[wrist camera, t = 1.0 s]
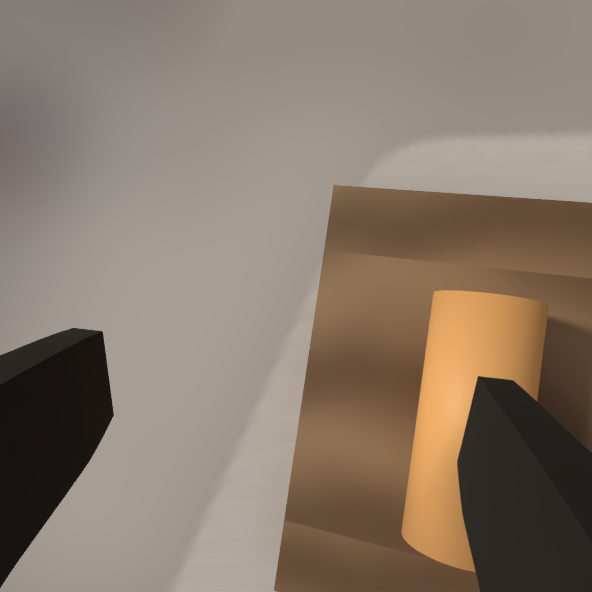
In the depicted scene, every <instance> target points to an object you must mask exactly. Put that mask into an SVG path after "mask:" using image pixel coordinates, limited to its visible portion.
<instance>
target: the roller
mask: <svg viewBox="0 0 592 592" xmlns="http://www.w3.org/2000/svg"><path fill="white" fill-rule="evenodd" d="M548 307H549V305H548V304H546V303H544V302H540V301H536V300H532V299H527V298H521V297H515V296H508V295H501V294H493V293H483V292H472V291H454V290H442V291H435V292H433V300H432V307H431V315H430V322H429V330H428V337H427V345H426V352H425V359H424V367H423V374H422V382H421V389H420V397H419V404H418V412H417V419H416V426H415V434H414V441H413V449H412V456H411V464H410V471H409V479H408V486H407V494H406V501H405V508H404V516H403V523H402V532H401V533H402V536H403V538H404V540H405V541H406V542H407V543H408V544H409V545H410V546H412V547H413V548H414V549H416V550H417V551H419V552H420V553H422V554H424V555H426V556H428V557H430V558H432V559H434V560H436V561H439V562H441V563H444V564H447V565H449V566H452V567H456V568H459V569H463V570H467V571H472V572H476V571H475V567H474V563H473V559H472V554H471V550H470V546H469V541H468V537H467V533H466V528H465V524H464V519H463V515H462V507H461V498H460V489H459V479H458V468H457V460H458V456H459V452H460V448H461V444H462V440H463V436H464V431H465V427H466V423H467V419H468V415H469V411H470V407H471V403H472V399H473V394H474V390H475V386H476V382H477V378H478V376H482V377H490V378H499V379H507V380H513V381H515V382H516V383H517V384H518V385H519V386H520V387H522V388H523V389H524V390H525V391H526V392H527V393H528V394H529V395H530V396H531V397H533V398H534V399H535V400H536V401H537V398H538V390H539V382H540V373H541V365H542V357H543V348H544V340H545V332H546V323H547V315H548Z"/></svg>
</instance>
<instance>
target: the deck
mask: <svg viewBox="0 0 592 592" xmlns="http://www.w3.org/2000/svg"><path fill="white" fill-rule="evenodd" d="M442 290H454V291H472V292H483V293H493V294H501V295H508V296H515V297H521V298H527V299H532V300H536V301H540V302H544V303H546V304H548V305H549V307H548V315H547V323H546V332H545V340H544V348H543V357H542V365H541V373H540V382H539V390H538V398H537V402H538V403H539V404H540V405H541V406H542V407H543V408H544V409H545V410H546V411H547V412H548V413H549V414H550V415H552V416H553V417H554V418H555V419H556V420H557V421H558V422H559V423H560V424H561V425H562V426H563V427H564V428H565V429H566V430H567V431H569V432H570V433H571V434H572V435H573V436H574V437H575V438H576V439H577V440H578V441H579V442H580V443H581V444H583V445H584V446H585V447H586V448H587V449H588V450H589V451H590V452H591V453H592V203H586V202H571V201H557V200H542V199H527V198H513V197H498V196H483V195H468V194H454V193H439V192H424V191H410V190H395V189H380V188H365V187H351V186H336V185H334V188H333V195H332V202H331V209H330V215H329V222H328V229H327V235H326V242H325V249H324V256H323V263H322V269H321V276H320V283H319V290H318V296H317V303H316V310H315V317H314V323H313V330H312V337H311V344H310V351H309V357H308V364H307V371H306V378H305V384H304V391H303V398H302V405H301V411H300V418H299V425H298V432H297V439H296V445H295V452H294V459H293V466H292V472H291V479H290V486H289V493H288V499H287V506H286V513H285V520H284V526H283V533H282V540H281V547H280V554H279V560H278V567H277V574H276V581H275V587H274V591H277V592H480V588H479V584H478V579H477V575H476V572H472V571H467V570H463V569H459V568H456V567H452V566H449V565H447V564H444V563H441V562H439V561H436V560H434V559H432V558H430V557H428V556H426V555H424V554H422V553H420V552H419V551H417V550H416V549H414V548H413V547H412V546H410V545H409V544H408V543H407V542H406V541H405V540H404V538H403V536H402V533H401V532H402V523H403V516H404V508H405V501H406V494H407V486H408V479H409V471H410V464H411V456H412V449H413V441H414V434H415V426H416V419H417V412H418V404H419V397H420V389H421V382H422V374H423V367H424V359H425V352H426V345H427V337H428V330H429V322H430V315H431V307H432V300H433V292H435V291H442Z"/></svg>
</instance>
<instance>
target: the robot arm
mask: <svg viewBox="0 0 592 592" xmlns="http://www.w3.org/2000/svg"><path fill="white" fill-rule="evenodd" d="M113 415H114V414H113V407H112V398H111V391H110V383H109V376H108V368H107V361H106V353H105V345H104V338H103V332H102V331H95V330H86V329H77V328H72V329H69V330H66V331H62V332H59V333H56V334H53V335H51V336H49V337H45V338H43V339H40V340H37V341H35V342H33V343H30V344H27V345H25V346H22V347H20V348H18V349H15V350H13V351H10V352H8V353H5V354H3V355H0V587H1V586H2V584H3V583H4V581H5V580H6V578H7V577H8V575H9V574H10V572H11V570H12V569H13V568H14V566H15V565H16V563H17V562H18V560H19V559H20V558H21V556H22V555H23V554H24V552H25V551H26V549H27V548H28V547H29V545H30V544H31V542H32V541H33V540H34V538H35V537H36V535H37V534H38V533H39V531H40V530H41V529H42V527H43V526H44V524H45V523H46V522H47V520H48V519H49V517H50V516H51V515H52V513H53V512H54V510H55V509H56V508H57V506H58V505H59V503H60V502H61V501H62V499H63V498H64V497H65V495H66V494H67V492H68V491H69V489H70V488H71V487H72V485H73V484H74V482H75V481H76V480H77V478H78V477H79V475H80V474H81V473H82V471H83V470H84V468H85V467H86V465H87V464H88V462H89V461H90V459H91V458H92V456H93V454H94V452H95V450H96V449H97V447H98V445H99V443H100V441H101V439H102V437H103V436H104V434H105V431H106V430H107V427H108V425H109V424H110V421H111V420H112V417H113ZM457 468H458V479H459V489H460V498H461V507H462V515H463V519H464V524H465V528H466V533H467V537H468V541H469V546H470V550H471V554H472V559H473V563H474V567H475V571H476V575H477V579H478V584H479V588H480V592H592V453H591V452H590V451H589V450H588V449H587V448H586V447H585V446H584V445H583V444H581V443H580V442H579V441H578V440H577V439H576V438H575V437H574V436H573V435H572V434H571V433H570V432H569V431H567V430H566V429H565V428H564V427H563V426H562V425H561V424H560V423H559V422H558V421H557V420H556V419H555V418H554V417H553V416H552V415H550V414H549V413H548V412H547V411H546V410H545V409H544V408H543V407H542V406H541V405H540V404H539V403H538V402H537V401H536V400H535V399H534V398H533V397H531V396H530V395H529V394H528V393H527V392H526V391H525V390H524V389H523V388H522V387H520V386H519V385H518V384H517V383H516V382H515V381H513V380H507V379H499V378H490V377H482V376H478V378H477V382H476V386H475V390H474V394H473V399H472V403H471V407H470V411H469V415H468V419H467V423H466V427H465V431H464V436H463V440H462V444H461V448H460V452H459V456H458V460H457Z"/></svg>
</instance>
